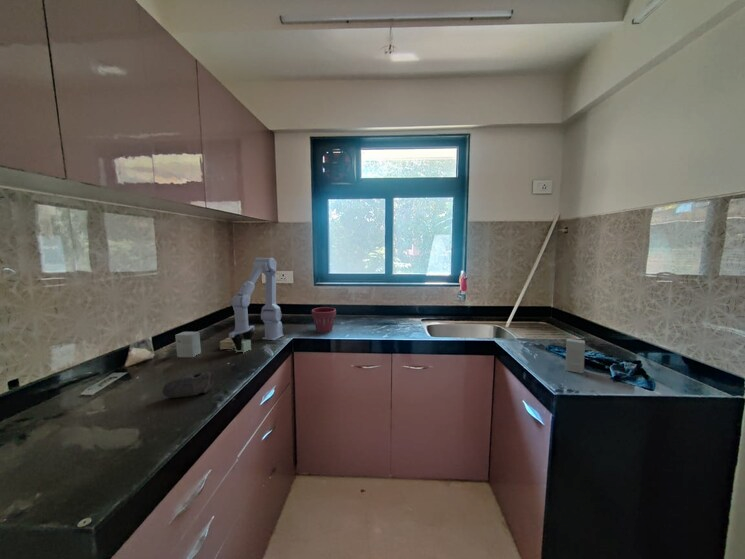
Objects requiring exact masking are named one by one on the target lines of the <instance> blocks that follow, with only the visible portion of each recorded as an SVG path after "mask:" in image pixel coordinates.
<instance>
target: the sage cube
mask: <svg viewBox="0 0 745 559" xmlns="http://www.w3.org/2000/svg"><path fill="white" fill-rule="evenodd" d="M241 345H242V347H241V350H237V349H236V346H235V349H234V352H235V351H236V352H235V353H237V352H243V353H242V354H245V353H244V352H246V351H248V350H250V351H252V339H251V340H248V339H244V338H242V344H241ZM248 352H249V351H248ZM246 353H247V352H246Z"/></svg>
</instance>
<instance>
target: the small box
mask: <svg viewBox="0 0 745 559" xmlns="http://www.w3.org/2000/svg"><path fill="white" fill-rule="evenodd" d="M174 336H175V348H176V358H195V357H196V355H197V356H198V354H199V355H200V354H202V350H201V347H202V346H201V338H200V331H182V332H180V333H177V334H175V335H174Z"/></svg>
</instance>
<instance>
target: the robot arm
mask: <svg viewBox="0 0 745 559" xmlns="http://www.w3.org/2000/svg"><path fill="white" fill-rule="evenodd" d="M277 265H278V264H277V261H276V259H275V258H273V257H256V258H255V259H254V261H253V263H252V266H253V267H252V270H251V272H250V275H249V277H248V280H246V281H243V283H242V284H241V286H240V287H239V288H240V289H239V290H238V292H237V294H236V295H234V296H232V298H231V301H230V304H231V306H232V308H233V311H234V312H233V313H234V325H235V328H234V330H233V331H231V332H229V333H228V338H231V339H232V340H233V342H234V344H235V346H236V349H237V350H241V347H242V345H241V344H242V339H248V340H251V341H252V338H253V336H254V334H255V332H254V330H255V325H249V313H248V307H249V305H250V304H251V297H252V294H253V292H254V290H255V289H256V285H255V283H256V282H257V280H259V277H260V276H261V274H264V276H265V304H264V305H263V306H262V307H261V312H260V320H261V321H262V322H263V323H264V336H263V337H261V340H266V341H267V340H268V341H275V340H278V339H280V338H281V337H283V336H285V334H284V333H283V323H282V321H281V319H282V317H283V316H282V311H281V307H280V306H279V305H278V304H277Z"/></svg>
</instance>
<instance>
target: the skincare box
mask: <svg viewBox="0 0 745 559" xmlns="http://www.w3.org/2000/svg"><path fill="white" fill-rule="evenodd" d="M565 343H566V344H565V345H566V346H565V366H564V367H565V368H564V369H565V371H567V372H573V373H577V374H584V371H585V353H586V341H585V340H583V339H575V338H566V342H565Z"/></svg>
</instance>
